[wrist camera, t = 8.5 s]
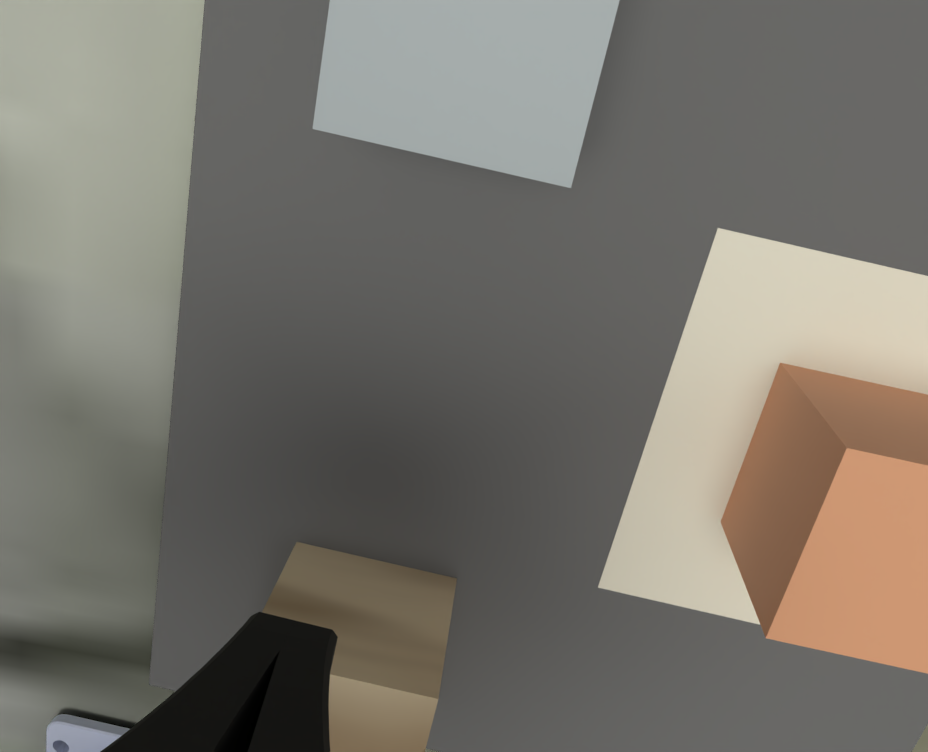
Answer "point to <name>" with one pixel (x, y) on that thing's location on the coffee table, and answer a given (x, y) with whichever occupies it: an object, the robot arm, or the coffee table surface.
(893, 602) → the terracotta block
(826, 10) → the mat
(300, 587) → the beech block
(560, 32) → the slate block
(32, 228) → the coffee table surface
